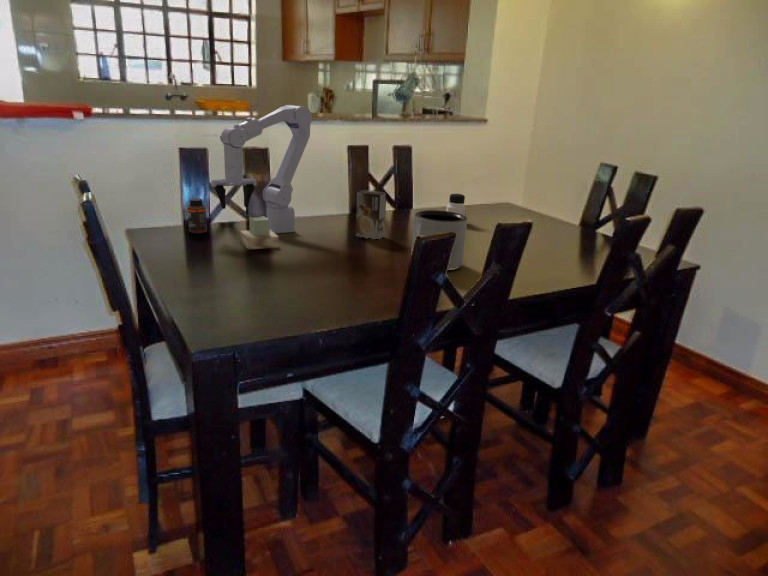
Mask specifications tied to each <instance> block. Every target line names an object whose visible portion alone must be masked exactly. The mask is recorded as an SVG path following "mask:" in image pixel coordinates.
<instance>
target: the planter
mask: <svg viewBox="0 0 768 576" xmlns="http://www.w3.org/2000/svg"><path fill="white" fill-rule="evenodd" d="M413 217H414V218H413V232H412V241H411V249H410V250H411V252H410V256H411V255H412V251H413V247H414V243H415V240H416V237H417V236H420V235H430V234H437V233H444V232H455V233H456V240H455V244H454V248H453V251H452V255H451V259H450V264H449V268H451V267H452V268H456V267H460V266H461V265H462V266H463V264H464V257H465V245H466V244H465V243H466V238H467V237H466V235H467V226H468V217H467V216H466V215H465V216H464V215H462V214H458V213H454V212H448V211H446V210H439V209H438V210H435V209H434V210H431V209H429V210H427V209H426V210H420V211H417V212H415V213H414V216H413ZM462 266H461V267H462ZM461 267H460V268H461ZM449 268H448V269H449Z"/></svg>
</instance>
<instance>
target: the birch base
mask: <svg viewBox="0 0 768 576" xmlns="http://www.w3.org/2000/svg"><path fill="white" fill-rule="evenodd" d="M239 237H240V240H239V241H240V242H241V244H242V245H243V246H244V248H245V249H247V250H257V249H258V250H259V249H275V248H276V249H277V248H279V246H280V245H279V244H280V243H279V239H280V238H279V235H278V234H277V233H274V232H273V231H272V230H271V229H270V235H261V236H254V235H253V234H251V233H250V229H249V230H247V229H246V230H240V233H239Z"/></svg>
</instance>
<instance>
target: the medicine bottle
mask: <svg viewBox="0 0 768 576" xmlns="http://www.w3.org/2000/svg"><path fill="white" fill-rule="evenodd" d="M465 199H466V196H465V195H464V194H462V193H451V194H449V200H448V203H446V209H445V211H448V212H454V213H458V214H462V215H464V216H466V212H467V211H466V210H467V209H466V206H465Z"/></svg>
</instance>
